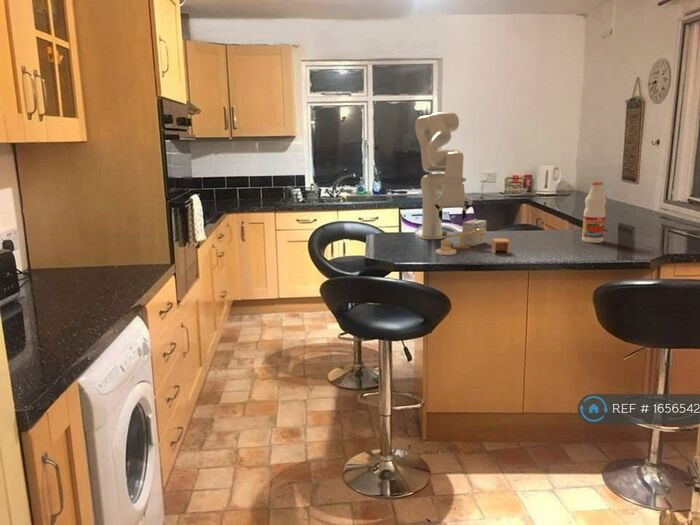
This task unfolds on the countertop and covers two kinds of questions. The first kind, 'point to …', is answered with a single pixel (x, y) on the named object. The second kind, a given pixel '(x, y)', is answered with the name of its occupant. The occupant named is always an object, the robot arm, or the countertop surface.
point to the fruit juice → (594, 214)
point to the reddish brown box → (500, 245)
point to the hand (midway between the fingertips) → (452, 219)
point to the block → (445, 245)
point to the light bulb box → (474, 237)
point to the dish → (445, 252)
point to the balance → (461, 246)
